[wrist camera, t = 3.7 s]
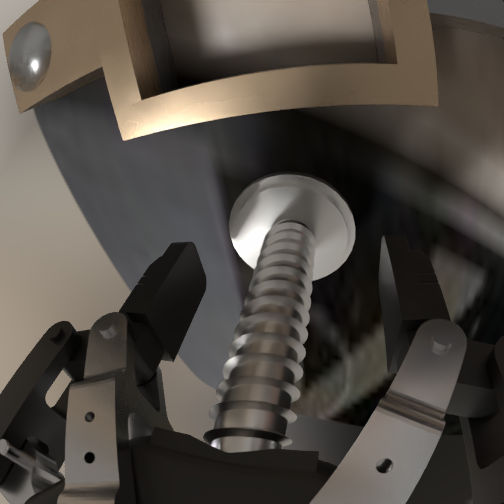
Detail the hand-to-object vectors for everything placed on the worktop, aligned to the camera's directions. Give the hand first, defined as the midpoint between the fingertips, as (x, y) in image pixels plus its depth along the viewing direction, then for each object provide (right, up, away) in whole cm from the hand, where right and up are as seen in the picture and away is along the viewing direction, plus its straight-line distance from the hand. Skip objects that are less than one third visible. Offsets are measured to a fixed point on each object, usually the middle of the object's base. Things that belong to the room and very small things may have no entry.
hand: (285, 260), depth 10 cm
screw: (+1, +2, +3) cm, 4 cm away
